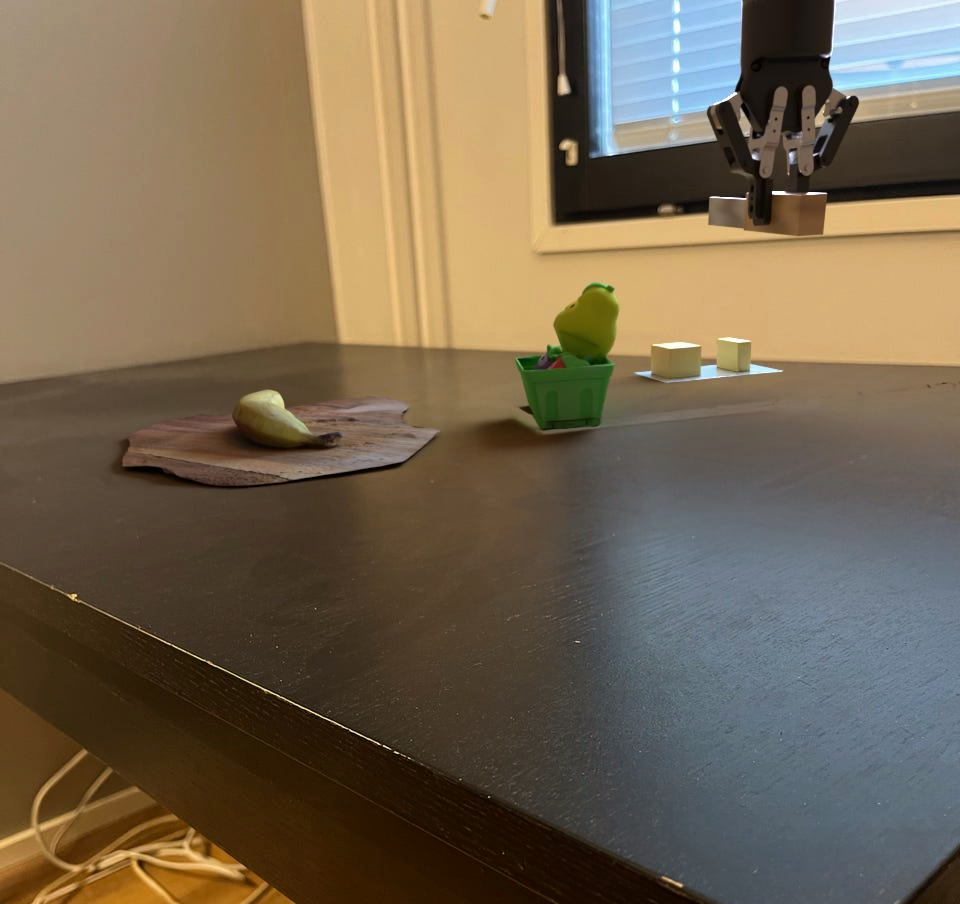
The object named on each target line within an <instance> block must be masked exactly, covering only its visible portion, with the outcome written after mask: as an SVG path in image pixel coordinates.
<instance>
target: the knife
mask: <svg viewBox="0 0 960 904" xmlns="http://www.w3.org/2000/svg"><path fill="white" fill-rule="evenodd" d="M748 195H749V192H746V193H745V198H742V197H720V196H710V197H709V201H708V217H707V218H708V220H707V225H708V226H715V227H725V228H734V229H743V231H746V232H754V233H762V234H763V233H765V234H774V235H782V236H790V237H807V236H809V237H811V236H821V235H822V236H823V235H824V230H825V221H826V212H827V211H826V209H827V199H828V193H827V192H809V193H802V192H784V191H773V194H772V208H771V222H770V224H769V225H763V226H754V225H753V219H749V216H748Z"/></svg>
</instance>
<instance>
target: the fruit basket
mask: <svg viewBox="0 0 960 904" xmlns="http://www.w3.org/2000/svg"><path fill="white" fill-rule="evenodd" d="M614 291H615V287H614V286H612V285H610V284H608V285H607V284H605V283H603V282H600V281H599V282H598V281H594V282H591V283H590V284H588V285H587V286H586V287H585V288H584V289H583V290H582V292H581V295H580V296H579V297H578V298H577V299H576V300H574V301H573V302H571V303H569V304H568V305H566V306H565V307H564V309H563V310H561V311H560V312H559V313H557V315H556V316H555V319H554V320H553V324H552V326H553V329H554V332H555V334H556V337H557V339H558V342H559V345H552V344H551V343H549V344H547V345H546V352H545V353H543V354H537V355H528V356H520V357H515V358H514V362H515V365H516V369H517V370H518V372H519V374H520V377H521V381H522V385H523V388H524V391H525V397H526V400H527V404H528V406H529V408H530V410H531V412H532V413H533V414H532V418H533V419H534V421H535V423H536V424H537V426H538V428H539V429H540V430H548V429H561V428H576V427H586V426H599V425H600V424H601V420H602V415H603V412H604V411H603V410H604V407H605V401H606V398H607V392H608V388H609V384H610V379H611V377H612V376H613V373H614V368H615V363H614V362H612V361H611V360H610V359H609V358H607V356H608V355H609V353H610V352H611V350H612V349H613V347H614V345H615V342H616V340H617V339H616V338H617V326H618V325H617V324H618V323H617V322H618V318H619V314H620V309H621V306H620V303H619V301H618V298H617V297H616V295H615V294H614ZM552 421H553V422H552ZM554 421H555V422H554ZM556 421H557V422H556Z"/></svg>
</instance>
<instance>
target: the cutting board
mask: <svg viewBox="0 0 960 904" xmlns="http://www.w3.org/2000/svg"><path fill="white" fill-rule="evenodd" d="M410 407H411V405H410V404H407V403H405V402H402V401H400V400H395V399H392V398H390V397H384V396H383V397H382V396H360V397H359V396H358V397H348V398H347V397H345V398H339V399H334V400H328V401H327V400H326V401H322V402H316V403H309V404H304V405H303V404H302V405H296V406H291V407H290V406H289V407H285V402H284V400H283V397H282V396H281V394H280V393H279V392H278V391H276V390H273V389H262V390H258V391H254V392H252V393H251V392H250V393H248V394H245V395H244V396H242V397H241V398H240V399H239V400H238V402H237V403H236V404H235V406H234V409H233V412H232V413H227V414H196V415H193V416H189V417H181V418H176V419H170V420H164V421H162V422H159V423H156V424H153V425H150V426H147V427H145V428H143V429H140V430H137V431H134V432H132V433H130V434H128V435H126V438H127V439H128V441H129V445H128V448H127V450H126V452H125V453H124V455H123V456H122V467H126V468H127V467H128V468H137V467H156V468H161V469H162V471H163V472H164V473H166V474H169V475H176V476H177V477H178V478H180V479H185V480H188V481H189V480H190V481H195V482H198V483H201V484H204V485H211V486H216V487H222V486H223V487H229V486H237V487H249V486H255V485H256V486H257V485H268V484H275V483H276V484H277V483H286V482H290V481H291V482H292V481H294V480H301V479H305V478H313V477H318V476H324V475H332V474H333V475H334V474H341V473H346V472H352V471H359V470H363V469H369V468H377V467H384V466H388V465H392V464H397V463H402V462H404V461H406V460H408V459H409V458H410V457H411V456H413V455H414V454H416V453H417V452H418V451H419V450H420V449H422V448H423V447H424V446H425V445H427V444H428V442H430V440H432V439H433V438H434V436H435V435H436V434H437V433H440V432H442V430H441V429H436V428H431V427H425V426H424V427H423V426H417V425H410V424H407V423H403V417H404V414H403V412H405V411H407V410H409V409H410ZM407 408H408V409H407Z"/></svg>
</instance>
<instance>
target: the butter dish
mask: <svg viewBox="0 0 960 904" xmlns="http://www.w3.org/2000/svg"><path fill="white" fill-rule="evenodd" d="M781 372H783V370H781V369H777V368H772V367H766V366H763V365H758V364H752V363H751V365H750V371H743V372H736V371H731V370H727V369H723V368H718V367H717V364H711V365H701V376H693V377H683V378H672V379H669V378H665V377H662V376H658V375H655V374H651V370H648V371H637V372H633V374H635V375H637V376H642V377H644V378H647V379H648V378H649V379H651V380H656V381H658V382H663V383H665V384H667V383H668V384H669V383H677V382H678V383H679V382H688V381H697V380H708V379H719V378H729V377H738V376H739V377H740V376H747V375H748V376H749V375H761V374H768V373H770V374H771V373H781Z"/></svg>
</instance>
